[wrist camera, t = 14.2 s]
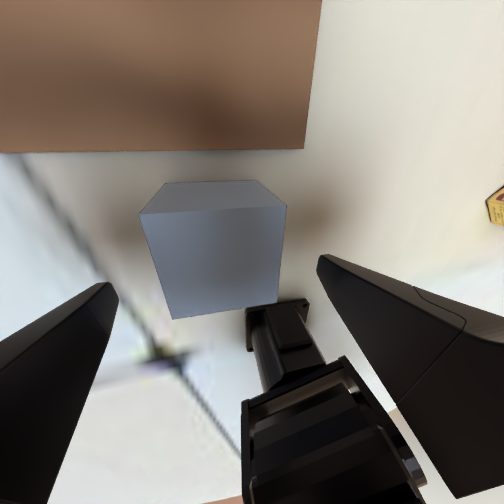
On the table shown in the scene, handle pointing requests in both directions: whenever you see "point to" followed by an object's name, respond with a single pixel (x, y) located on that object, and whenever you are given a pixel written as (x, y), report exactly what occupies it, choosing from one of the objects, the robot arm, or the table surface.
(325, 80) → the table surface
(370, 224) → the table surface
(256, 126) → the board
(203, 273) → the slate cube
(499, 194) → the candy box
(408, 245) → the table surface
